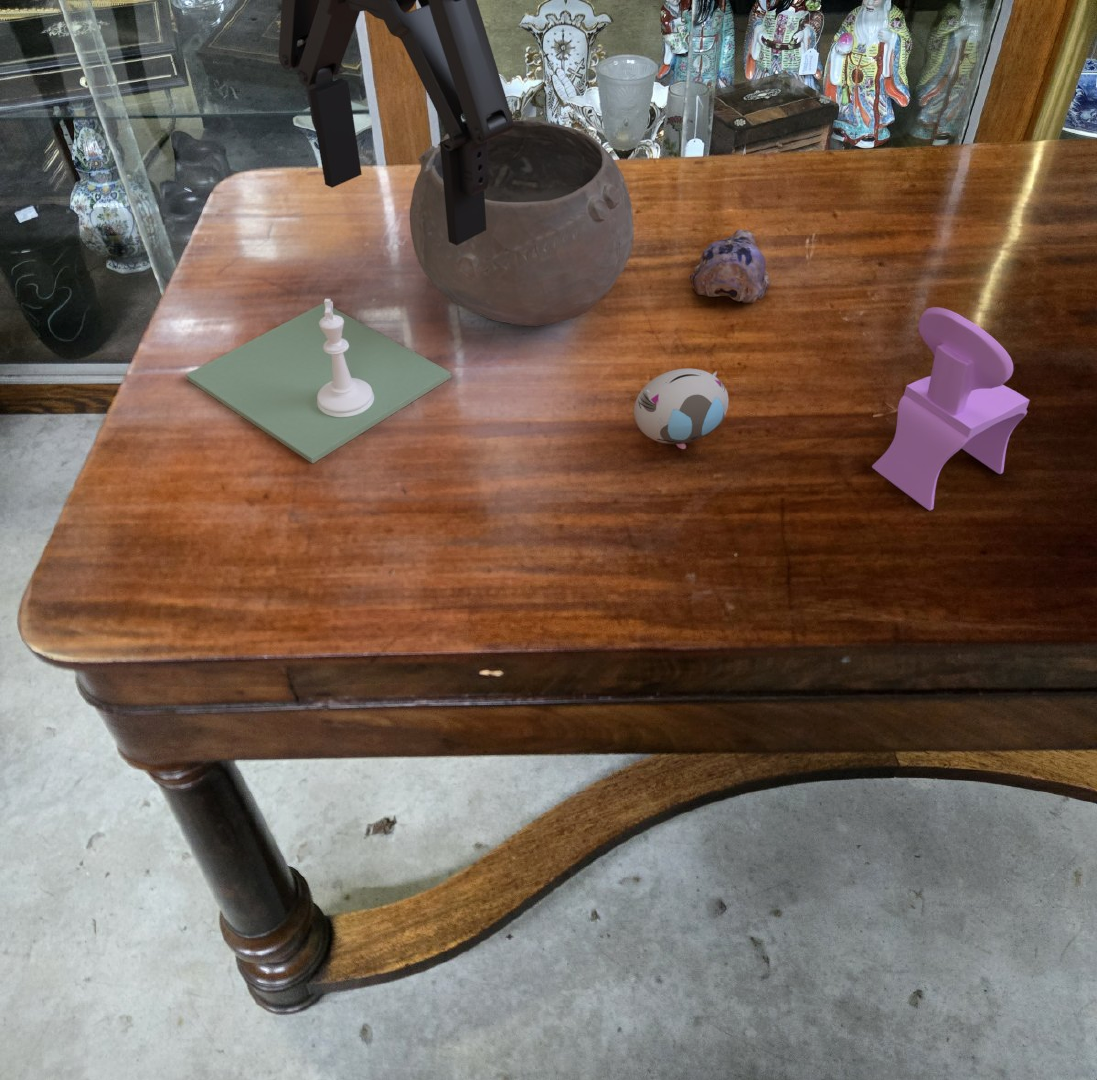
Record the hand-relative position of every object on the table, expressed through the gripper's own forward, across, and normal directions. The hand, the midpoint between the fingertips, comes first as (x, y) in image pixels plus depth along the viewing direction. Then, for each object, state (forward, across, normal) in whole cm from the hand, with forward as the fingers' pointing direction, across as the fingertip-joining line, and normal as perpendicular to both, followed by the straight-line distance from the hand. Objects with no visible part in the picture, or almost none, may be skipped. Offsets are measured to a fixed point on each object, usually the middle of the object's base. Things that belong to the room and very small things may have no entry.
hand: (403, 206), depth 70 cm
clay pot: (+22, +11, -23) cm, 34 cm away
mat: (+22, +16, -1) cm, 27 cm away
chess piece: (+22, +11, 0) cm, 24 cm away
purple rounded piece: (+22, -3, -39) cm, 45 cm away
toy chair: (+22, -32, -26) cm, 47 cm away
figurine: (+22, -14, -15) cm, 30 cm away
